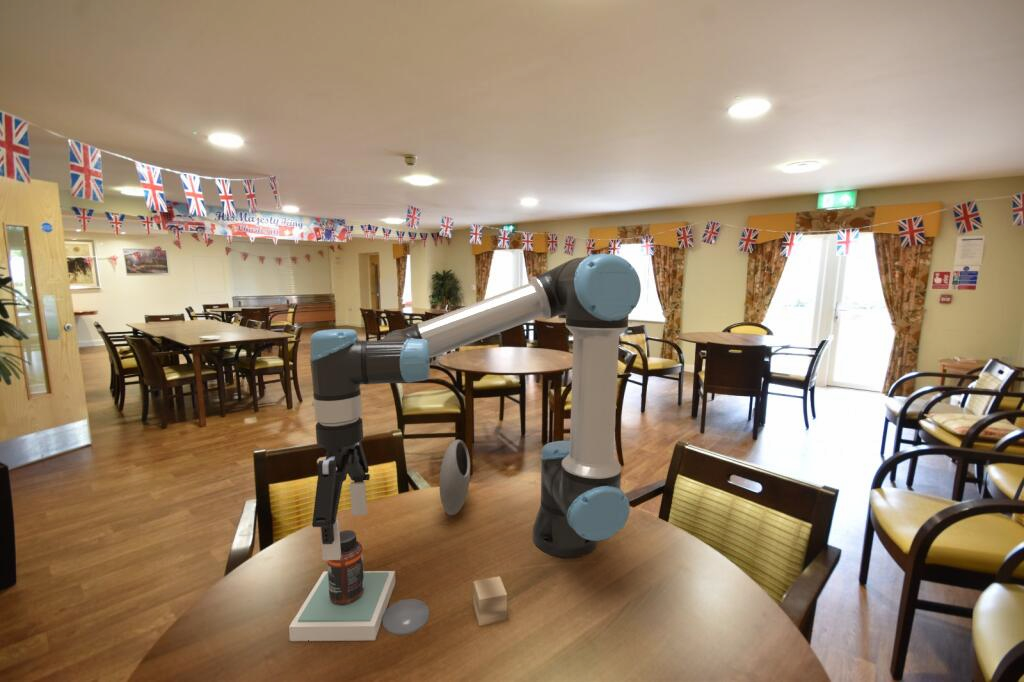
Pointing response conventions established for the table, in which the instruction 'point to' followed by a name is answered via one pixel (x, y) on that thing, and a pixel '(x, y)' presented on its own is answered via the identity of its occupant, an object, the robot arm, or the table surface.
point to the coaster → (405, 617)
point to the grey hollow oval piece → (454, 477)
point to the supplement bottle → (346, 570)
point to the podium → (344, 611)
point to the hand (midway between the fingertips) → (346, 534)
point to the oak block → (490, 600)
